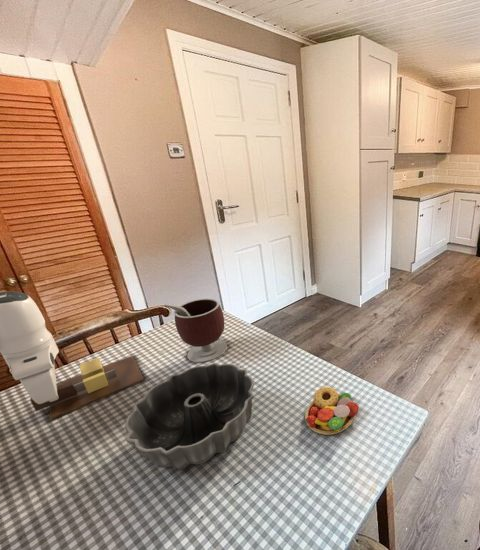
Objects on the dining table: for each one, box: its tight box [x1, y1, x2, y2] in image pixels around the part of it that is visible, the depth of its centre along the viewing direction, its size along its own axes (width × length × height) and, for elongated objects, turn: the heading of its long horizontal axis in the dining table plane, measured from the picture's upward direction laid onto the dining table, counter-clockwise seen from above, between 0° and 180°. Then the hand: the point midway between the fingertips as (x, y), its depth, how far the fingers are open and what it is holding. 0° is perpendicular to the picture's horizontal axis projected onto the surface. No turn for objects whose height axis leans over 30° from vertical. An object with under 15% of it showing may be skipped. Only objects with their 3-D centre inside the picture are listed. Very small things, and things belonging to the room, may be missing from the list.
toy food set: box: [304, 386, 360, 436], centre depth 78 cm, size 13×13×3 cm
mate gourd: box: [164, 298, 228, 363], centre depth 100 cm, size 16×14×20 cm
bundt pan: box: [124, 362, 255, 471], centre depth 72 cm, size 26×26×10 cm
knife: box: [29, 370, 117, 412], centre depth 84 cm, size 17×2×4 cm, turn 136°
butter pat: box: [83, 372, 108, 393], centre depth 86 cm, size 4×2×4 cm, turn 136°
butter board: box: [49, 355, 145, 421], centre depth 88 cm, size 20×16×5 cm
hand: (54, 396), depth 81 cm, fingers closed on knife, 2 cm apart
